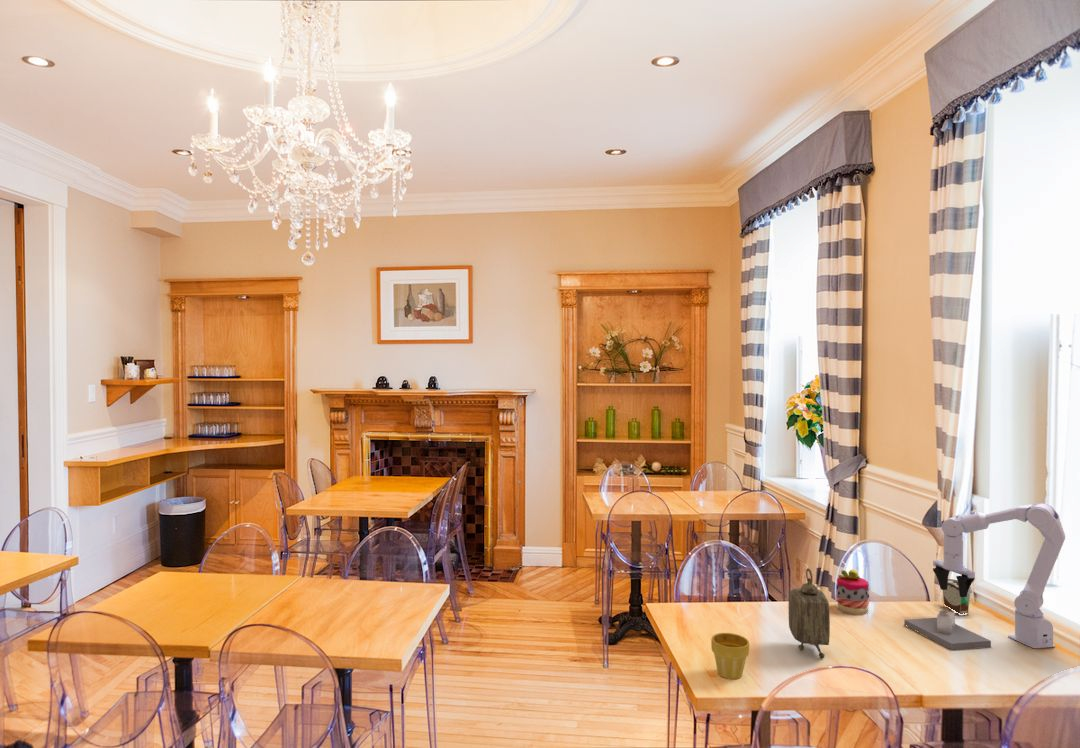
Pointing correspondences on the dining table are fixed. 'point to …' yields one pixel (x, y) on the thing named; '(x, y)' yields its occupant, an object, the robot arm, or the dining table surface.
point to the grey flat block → (948, 635)
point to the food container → (956, 597)
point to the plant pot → (730, 654)
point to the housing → (946, 622)
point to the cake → (852, 593)
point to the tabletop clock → (809, 615)
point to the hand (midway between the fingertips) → (953, 593)
